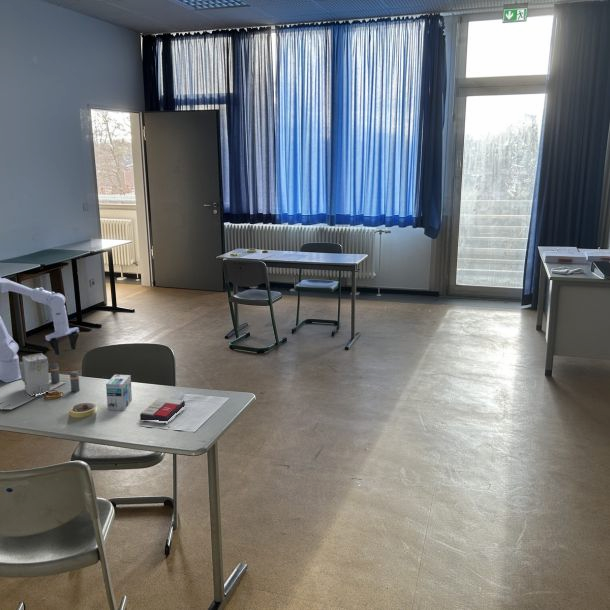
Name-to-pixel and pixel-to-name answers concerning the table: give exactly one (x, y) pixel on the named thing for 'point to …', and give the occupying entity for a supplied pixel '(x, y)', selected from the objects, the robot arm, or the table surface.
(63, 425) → the table surface
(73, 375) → the post
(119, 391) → the light bulb box
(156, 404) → the red black flat box
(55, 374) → the left cable post
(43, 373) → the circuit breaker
